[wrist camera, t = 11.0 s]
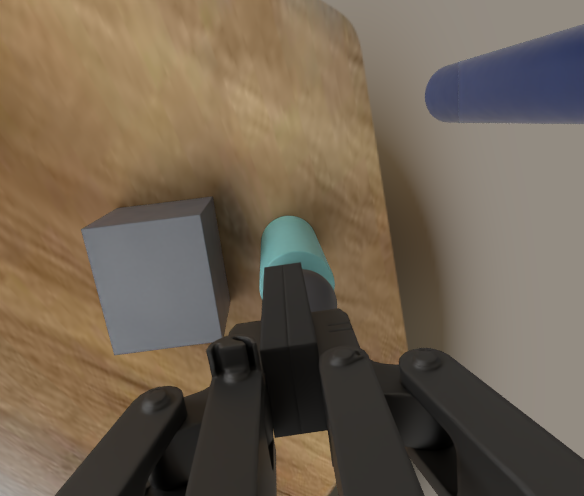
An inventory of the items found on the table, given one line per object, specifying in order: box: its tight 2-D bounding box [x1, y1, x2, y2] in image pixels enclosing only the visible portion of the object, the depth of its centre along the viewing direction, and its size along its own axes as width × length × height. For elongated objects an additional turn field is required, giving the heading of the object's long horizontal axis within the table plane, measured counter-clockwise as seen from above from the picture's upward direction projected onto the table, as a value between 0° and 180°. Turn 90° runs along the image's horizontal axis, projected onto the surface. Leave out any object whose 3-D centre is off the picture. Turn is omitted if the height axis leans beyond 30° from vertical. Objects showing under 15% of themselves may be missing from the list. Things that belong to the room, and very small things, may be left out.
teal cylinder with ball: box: [260, 216, 337, 312], centre depth 38 cm, size 12×6×19 cm, turn 95°
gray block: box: [81, 197, 230, 355], centre depth 42 cm, size 10×12×9 cm
